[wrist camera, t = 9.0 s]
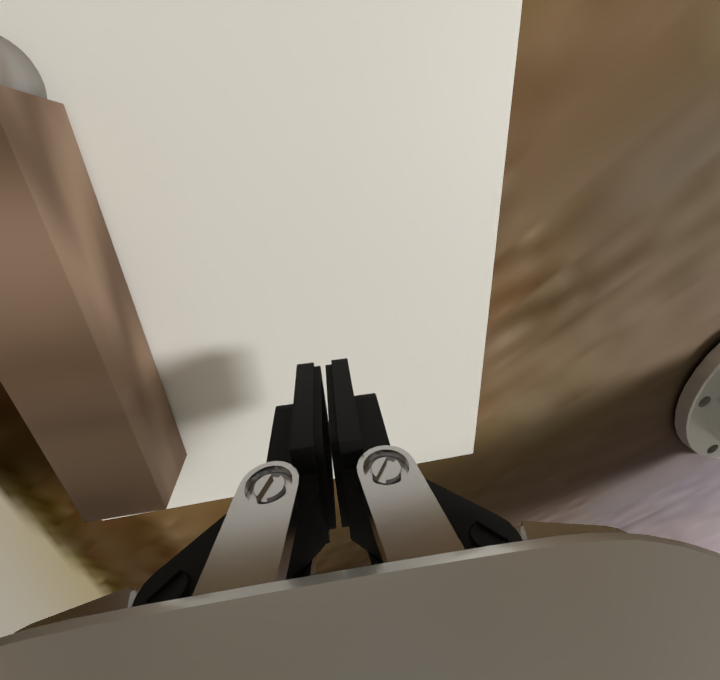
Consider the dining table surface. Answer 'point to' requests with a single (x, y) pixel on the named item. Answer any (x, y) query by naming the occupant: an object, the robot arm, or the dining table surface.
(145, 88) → the white flat square panel
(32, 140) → the folding leg
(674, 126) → the dining table surface
